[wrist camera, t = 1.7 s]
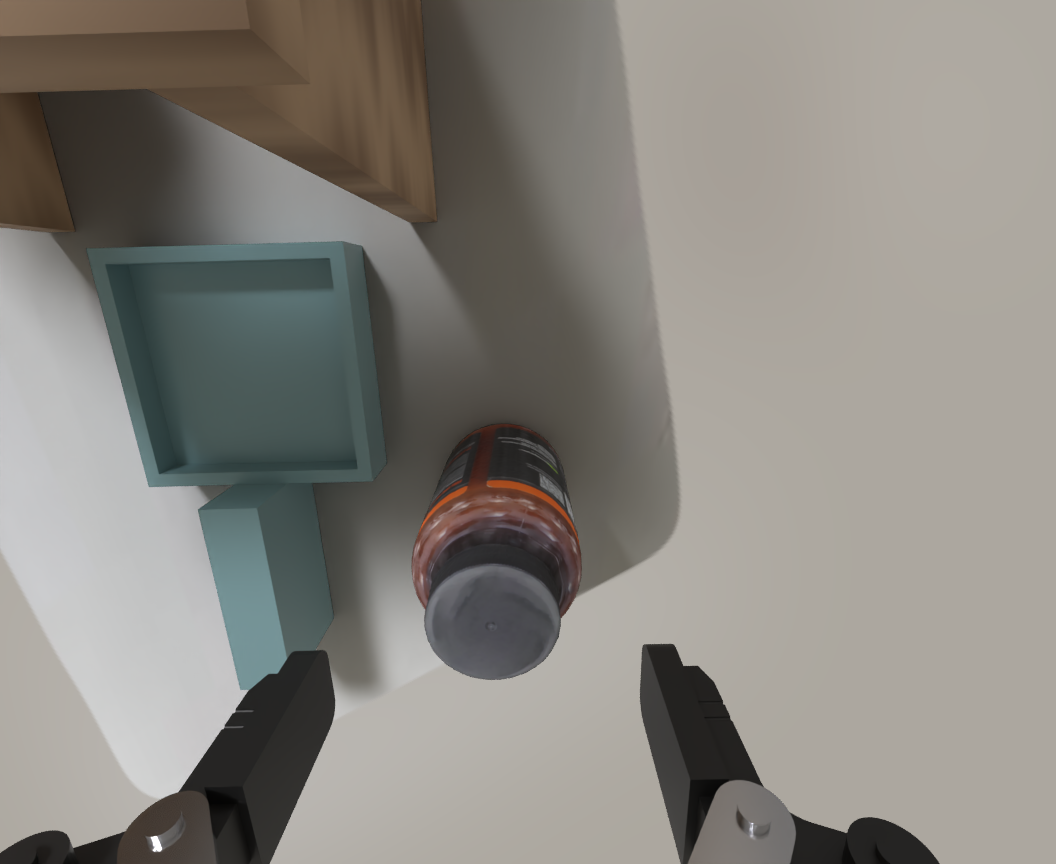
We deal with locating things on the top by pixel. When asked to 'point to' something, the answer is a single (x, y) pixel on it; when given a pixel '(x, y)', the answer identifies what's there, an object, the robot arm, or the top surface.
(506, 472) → the supplement bottle
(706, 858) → the robot arm
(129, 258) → the dustpan
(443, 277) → the top surface
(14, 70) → the wooden bridge stand
